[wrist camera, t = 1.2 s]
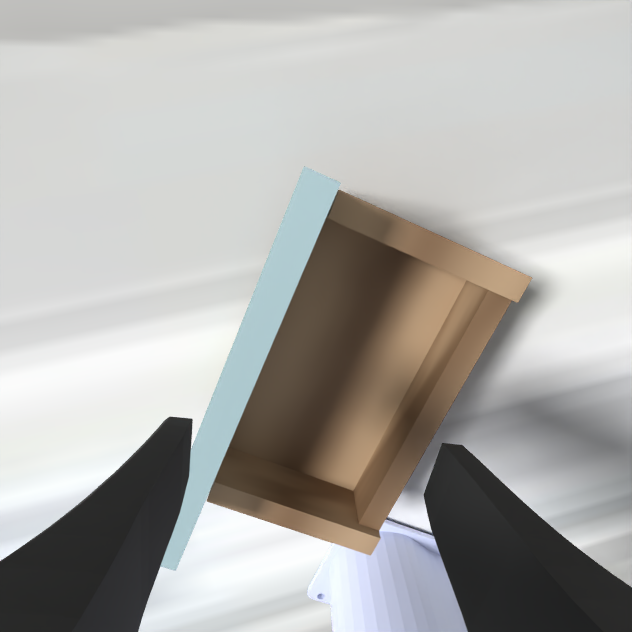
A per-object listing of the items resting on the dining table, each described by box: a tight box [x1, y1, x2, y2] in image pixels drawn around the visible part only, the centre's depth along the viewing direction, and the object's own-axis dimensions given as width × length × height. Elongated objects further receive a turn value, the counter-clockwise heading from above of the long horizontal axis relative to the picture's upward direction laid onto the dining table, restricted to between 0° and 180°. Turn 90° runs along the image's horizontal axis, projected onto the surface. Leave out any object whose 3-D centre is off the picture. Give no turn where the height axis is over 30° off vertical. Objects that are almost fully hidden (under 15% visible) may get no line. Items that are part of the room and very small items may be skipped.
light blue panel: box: [161, 166, 341, 571], centre depth 17 cm, size 1×16×7 cm, turn 156°
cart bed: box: [207, 190, 532, 556], centre depth 22 cm, size 9×16×6 cm, turn 157°
